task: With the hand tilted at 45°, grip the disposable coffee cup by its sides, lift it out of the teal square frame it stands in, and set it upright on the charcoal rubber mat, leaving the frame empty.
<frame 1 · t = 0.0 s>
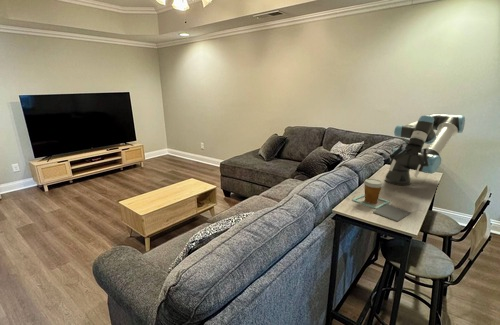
hand: (402, 173, 148), 15 cm above the table, tool tilted 35°, fingers open, 13 cm apart
charcoal mat: (391, 212, 134), on the table
disposable coffee cup: (370, 201, 148), resting in teal frame
teal frame: (370, 201, 148), on the table
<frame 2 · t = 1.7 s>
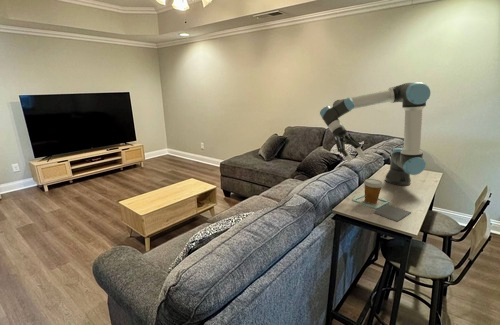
hand: (357, 159, 150), 22 cm above the table, tool tilted 45°, fingers open, 13 cm apart
nothing on the table moved.
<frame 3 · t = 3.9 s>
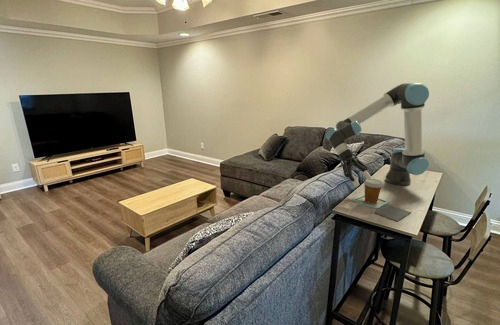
hand: (364, 183, 148), 10 cm above the table, tool tilted 45°, fingers open, 13 cm apart
nothing on the table moved.
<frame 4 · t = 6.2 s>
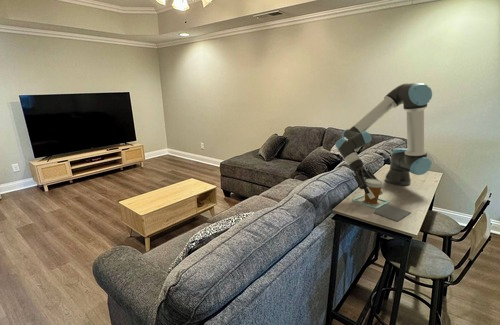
hand: (377, 196, 144), 4 cm above the table, tool tilted 45°, fingers closed on disposable coffee cup, 9 cm apart
disposable coffee cup: (370, 201, 148), resting in teal frame, touching gripper
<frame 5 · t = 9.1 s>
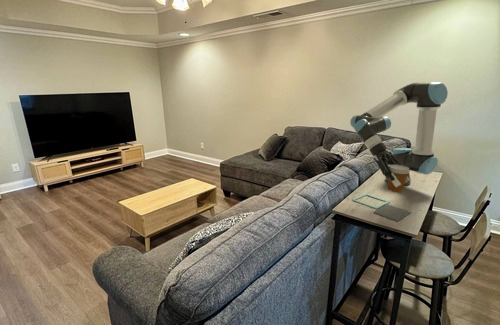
hand: (403, 183, 128), 17 cm above the table, tool tilted 45°, fingers closed on disposable coffee cup, 9 cm apart
disposable coffee cup: (394, 190, 131), point 12 cm above the table, touching gripper
when the fingers open (6 cm above the table, at t = 12.1 s): disposable coffee cup moves 3 cm, resting on charcoal mat.
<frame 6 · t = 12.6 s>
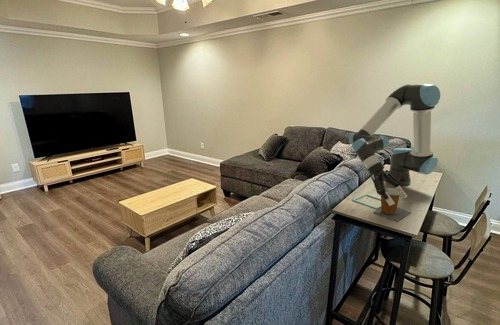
hand: (398, 201, 131), 7 cm above the table, tool tilted 45°, fingers open, 13 cm apart
disposable coffee cup: (388, 212, 133), point 1 cm above the table, touching charcoal mat, gripper
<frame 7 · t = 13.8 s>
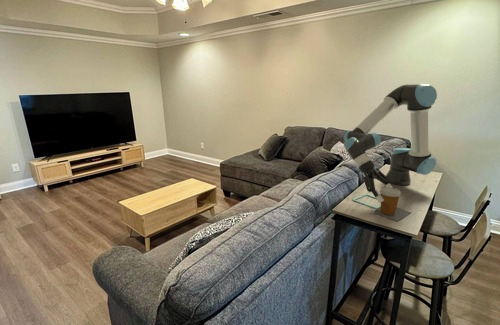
hand: (388, 198, 134), 7 cm above the table, tool tilted 45°, fingers open, 13 cm apart
disposable coffee cup: (387, 212, 133), point 1 cm above the table, touching charcoal mat
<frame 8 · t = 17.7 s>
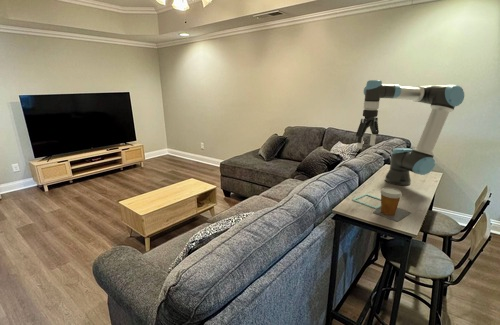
hand: (365, 147, 151), 29 cm above the table, tool pointing down, fingers open, 13 cm apart
nothing on the table moved.
at the end: disposable coffee cup inside the target area on the charcoal mat (3.0 cm from its centre), point 0.4 cm above the charcoal mat's base; disposable coffee cup tilted 0°; the gripper is holding nothing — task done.
